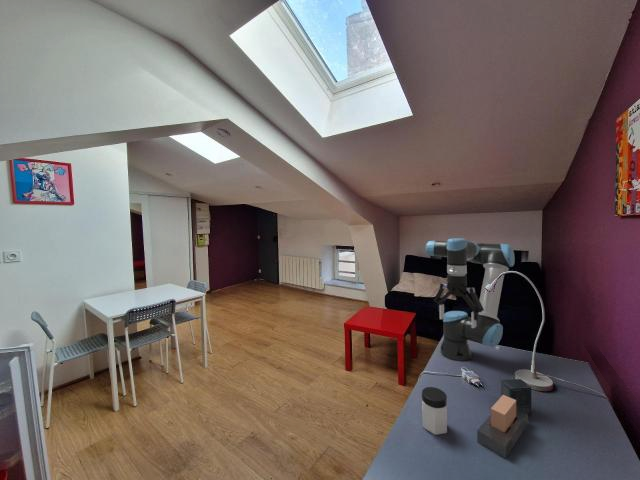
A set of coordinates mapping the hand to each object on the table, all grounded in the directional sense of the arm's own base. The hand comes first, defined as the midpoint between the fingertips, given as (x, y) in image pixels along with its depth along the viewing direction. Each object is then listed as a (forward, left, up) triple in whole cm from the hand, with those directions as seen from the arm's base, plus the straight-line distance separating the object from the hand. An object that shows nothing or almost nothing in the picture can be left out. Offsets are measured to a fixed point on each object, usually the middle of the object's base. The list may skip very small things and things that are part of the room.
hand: (457, 322), depth 115 cm
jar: (+29, +5, -29) cm, 41 cm away
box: (-2, +21, -29) cm, 36 cm away
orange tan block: (+14, +22, -29) cm, 39 cm away
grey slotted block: (+14, +22, -29) cm, 39 cm away
